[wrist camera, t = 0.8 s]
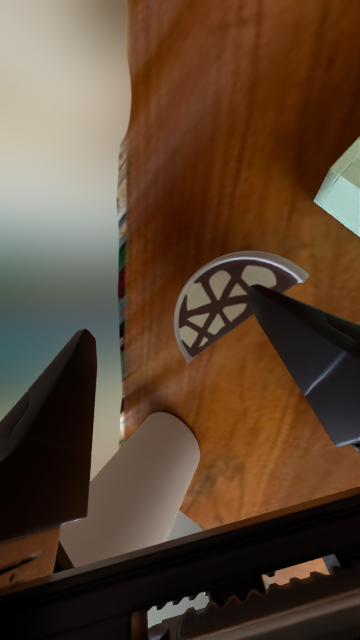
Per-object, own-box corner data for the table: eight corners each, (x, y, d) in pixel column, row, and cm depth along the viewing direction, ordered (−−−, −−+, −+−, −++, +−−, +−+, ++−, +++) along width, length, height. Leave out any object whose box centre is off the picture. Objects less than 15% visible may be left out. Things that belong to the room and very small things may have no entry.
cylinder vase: (214, 464, 32) (86, 854, 11) (167, 466, 38) (30, 710, 17) (177, 403, 32) (-12, 656, 11) (137, 416, 39) (-30, 590, 18)
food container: (260, 233, 20) (246, 205, 12) (298, 273, 19) (314, 275, 11) (189, 302, 26) (147, 317, 18) (215, 334, 26) (184, 366, 17)
